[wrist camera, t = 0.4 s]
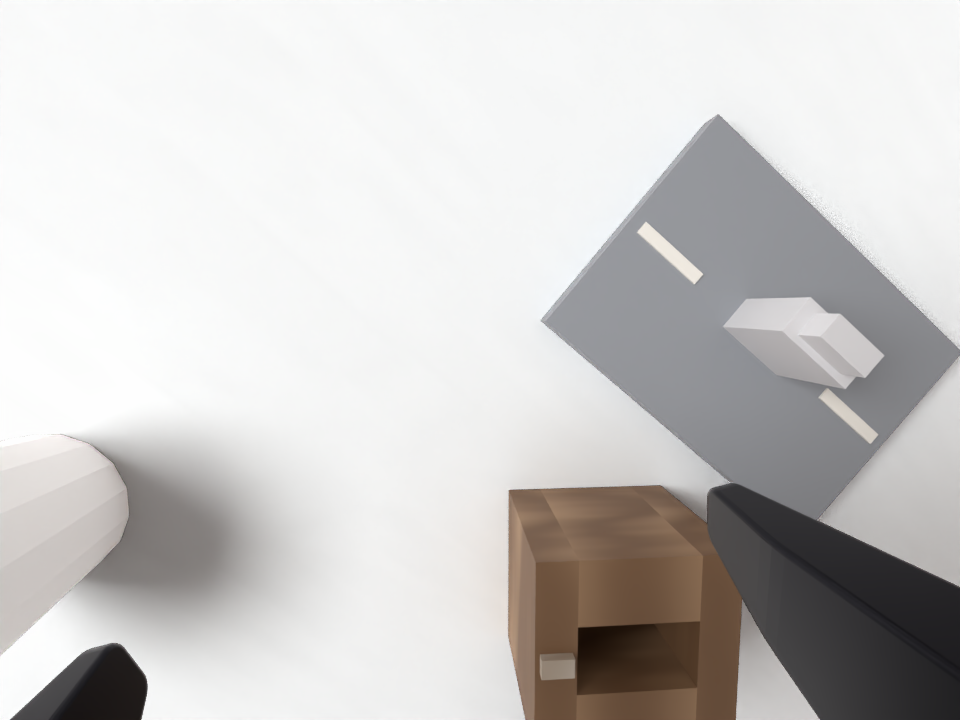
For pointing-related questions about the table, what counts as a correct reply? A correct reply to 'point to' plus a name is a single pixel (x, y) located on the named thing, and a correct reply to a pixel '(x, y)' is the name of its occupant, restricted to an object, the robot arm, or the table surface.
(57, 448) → the white cylinder
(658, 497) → the hollow wooden cube
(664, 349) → the switch plate
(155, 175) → the table surface
